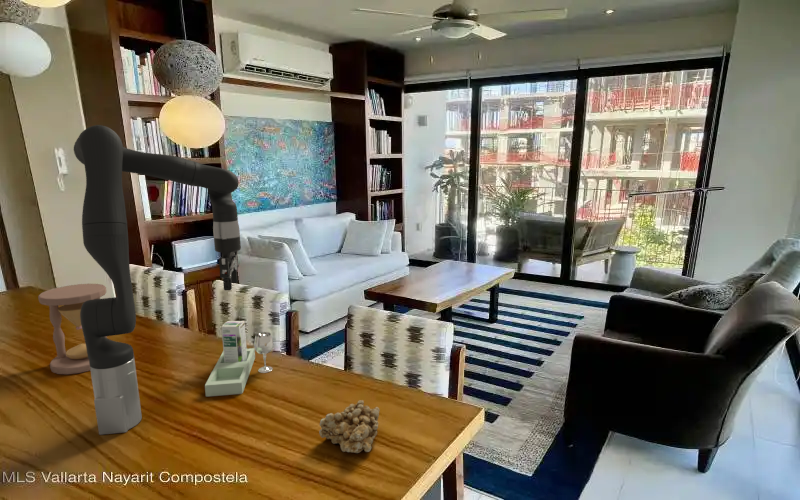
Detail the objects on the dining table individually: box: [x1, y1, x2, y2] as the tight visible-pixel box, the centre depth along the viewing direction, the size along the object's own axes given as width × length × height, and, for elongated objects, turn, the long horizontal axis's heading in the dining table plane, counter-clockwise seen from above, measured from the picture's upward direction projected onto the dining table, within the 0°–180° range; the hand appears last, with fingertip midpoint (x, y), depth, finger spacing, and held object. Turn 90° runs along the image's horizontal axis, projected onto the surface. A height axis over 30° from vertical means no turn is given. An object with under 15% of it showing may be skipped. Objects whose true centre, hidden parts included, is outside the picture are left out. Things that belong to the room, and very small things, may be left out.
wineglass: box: [253, 331, 274, 374], centre depth 138 cm, size 6×6×12 cm
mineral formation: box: [318, 399, 381, 454], centre depth 104 cm, size 8×13×15 cm
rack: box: [204, 347, 256, 397], centre depth 135 cm, size 24×10×4 cm, turn 10°
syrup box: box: [221, 320, 248, 363], centre depth 140 cm, size 6×6×14 cm
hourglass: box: [37, 283, 108, 375], centre depth 142 cm, size 18×18×25 cm
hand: (231, 286), depth 136 cm, fingers open, 8 cm apart
